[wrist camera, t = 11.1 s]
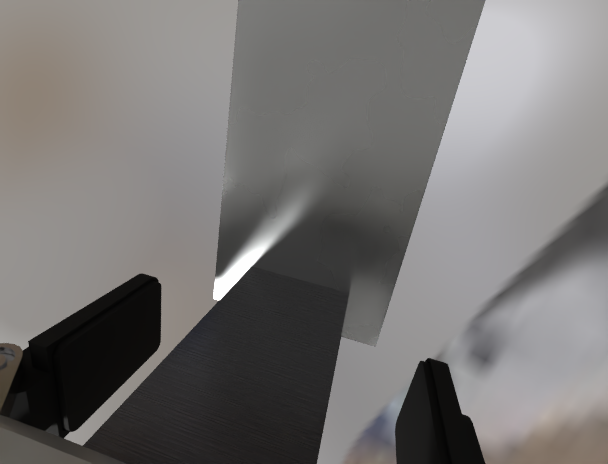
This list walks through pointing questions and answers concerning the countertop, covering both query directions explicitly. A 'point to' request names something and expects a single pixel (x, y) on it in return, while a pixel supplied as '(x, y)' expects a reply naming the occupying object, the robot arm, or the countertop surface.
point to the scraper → (302, 223)
